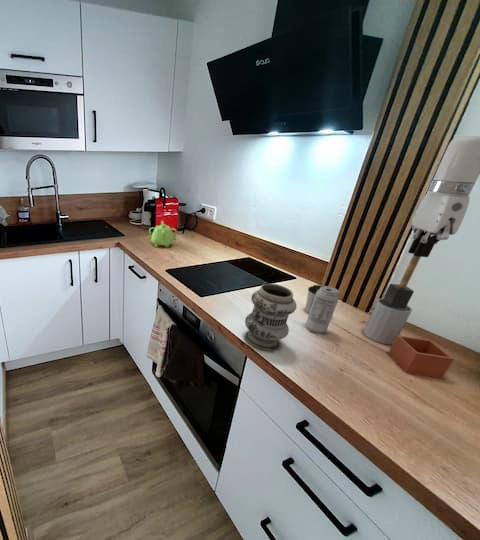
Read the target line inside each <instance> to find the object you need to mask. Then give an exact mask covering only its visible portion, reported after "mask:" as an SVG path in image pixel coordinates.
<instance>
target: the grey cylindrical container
mask: <svg viewBox="0 0 480 540" xmlns="http://www.w3.org/2000/svg"><path fill="white" fill-rule="evenodd" d="M383 298H384V297H382V298H378V299H377V300H376V302H375V304H374V306H373V309H372V310H371V313H370V316H369V318H368V319H367V321H366V324H365V327H364V329H363V334H364V335H365V336H366V338H369V339H371V340H372V341H373V342H377V343H379V344H384V345H392V344H393V342H394V340H395V338H396V336H397V335H399V336H401V333H402V331H403V329H404V328H405V325H406V323H407V321H408V319H409V317H410V316H411V313H412V312H413V309H412V307H410V306H409V304H407V306H406V308H405V309H404V308H396V307H390V306H389V305H387V304H386V303H385V302H384V301H382V300H383Z"/></svg>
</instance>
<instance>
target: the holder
mask: <svg viewBox="0 0 480 540" xmlns="http://www.w3.org/2000/svg"><path fill="white" fill-rule="evenodd" d="M387 354H388V355H389V356H390V357H391V358H392V359H393V360H394V361H395V362H396V363H397V364H398V365H399V366H400V368H402V369H403V371H404V372H405V373H408V374H415V375H422V376H427V377H434V378H438V379H443V378H444V375H446V372H448V369H449V368H450V366H451V365H452V363H453V361H454V360H455V359H454V357H452V356H451V355H450V354H448V353H447V352H446V351H445V350H443V349H442V348H441V347H440V346H439V345H438V344H436V343H435V342H434V341H432V339H426V338H419V337H412V336H405V335H397V336H396V338H395V340H394V342H393V344H391V347H390V348H389V351H388V353H387Z"/></svg>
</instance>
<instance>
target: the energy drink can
mask: <svg viewBox="0 0 480 540" xmlns="http://www.w3.org/2000/svg"><path fill="white" fill-rule="evenodd" d="M339 292H340V291H339V289H337V288H335V287H333V286H329V285H321V288H320V289H319V290H317V292H316V295H315V298H314V301H313V304H312V307H311V310H310V313H308V316H307V318H306V322H305V326H306V328H307V329H308V330H309V331H311V332H313V333H317V334H324V333H325V332H327V331H328V328H329V325H330V324H331V320H332V317H333V315H334V313H335V310H336V307H337V306H338V305H337V304H338V303H339V300H340V293H339Z"/></svg>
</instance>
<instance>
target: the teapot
mask: <svg viewBox="0 0 480 540" xmlns="http://www.w3.org/2000/svg"><path fill="white" fill-rule="evenodd" d="M152 230H153V231H152ZM151 231H152V232H151ZM173 231H174V233H173ZM148 233H149V235H148V236H147V239H148V240H151V242H152V244H154V247H159V246H164V247H165V248H170V245H171V244H172V243H173V242H175V241H177V233H178V231H177V229H176V228H171V227H170V226H169V225H167V224H166V223H165V222H164V220H161V221H160V225H155V226H152V227H150V228H149V229H148Z"/></svg>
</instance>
